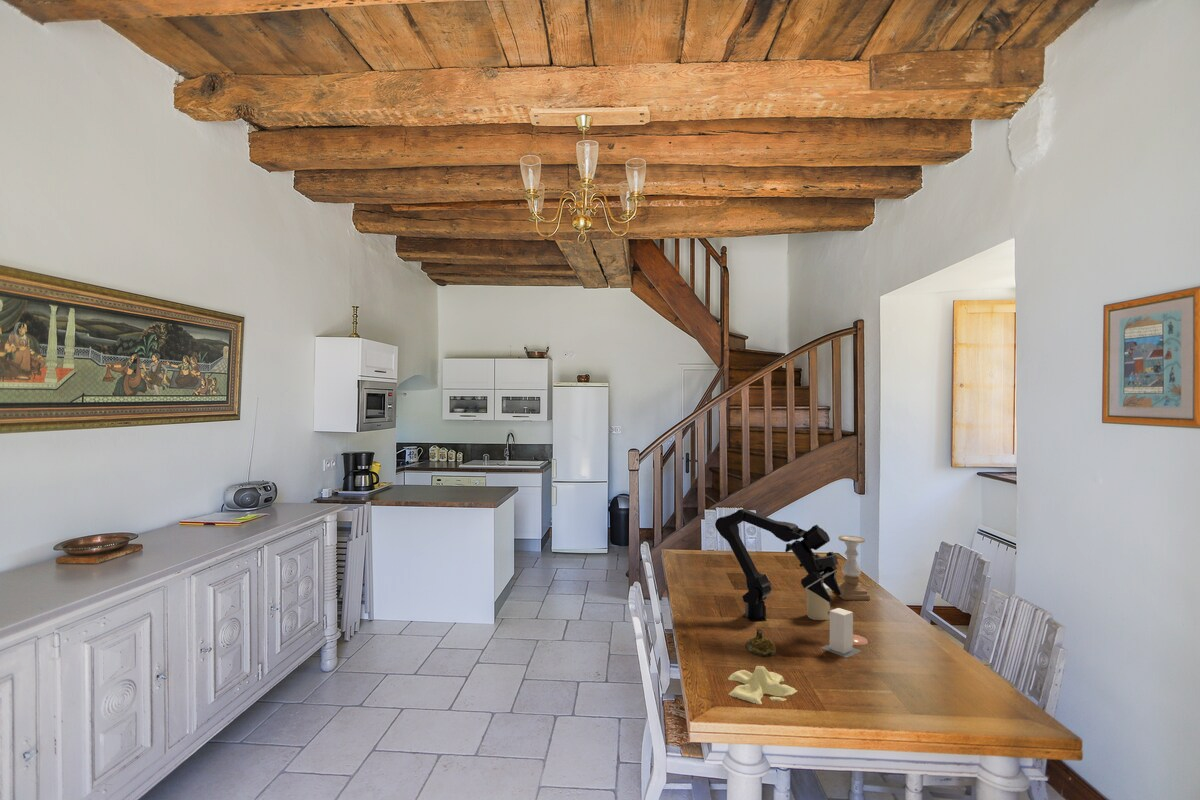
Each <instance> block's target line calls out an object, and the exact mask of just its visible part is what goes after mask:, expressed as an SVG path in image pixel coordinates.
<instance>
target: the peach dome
mask: <svg viewBox="0 0 1200 800" xmlns="http://www.w3.org/2000/svg"><path fill="white" fill-rule="evenodd" d="M868 643H869V640H868V639H867V638H866V637H864V636H862V635H859V634H854V633H853V646H866V645H868Z"/></svg>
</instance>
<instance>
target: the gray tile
mask: <svg viewBox="0 0 1200 800" xmlns="http://www.w3.org/2000/svg"><path fill="white" fill-rule="evenodd" d="M820 649H822V650H826V651H828V652H829V653H833V654H835V655H838V656H841V657H843V658H846V659H847V658H849V657H851V656H854V655H856V654H859V653H861V652H862V650H861V649H858V648H855V647H853V650H852V651H850V652H847V653H845V654H843V653H840V652H838V651H835V650H832V649H830V643H829V644H826V645H823V646H821V647H820Z"/></svg>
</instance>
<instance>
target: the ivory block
mask: <svg viewBox="0 0 1200 800" xmlns="http://www.w3.org/2000/svg"><path fill="white" fill-rule="evenodd" d="M853 634H854V612H853V611H850V610H846V609H843V608H840V607H837V608H833V609H830V618H829V644H830V649H832V650H835V651H838V652H840V653H843V654H845V653H847V652H850V651H852V650H853V648H854V645H853Z"/></svg>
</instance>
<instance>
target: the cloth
mask: <svg viewBox="0 0 1200 800" xmlns="http://www.w3.org/2000/svg"><path fill="white" fill-rule="evenodd" d="M754 668H755V669H754V670H753V672H750V671H748V670H747V669H746V670H745V669H741V670H737V671H735V672H733V673H732V674H730V676H728V678H727V680H728V681H736V682H739V683H742V684H739V685H737V686H735V687H734V689H732V690H731V691H730V692H729V693H728V696H729V695H730V696H729V697H733V698H736V697H737V698H736V699H739V700H743V701H746V702H750V703H752V704H755V703H756V705H762V704H763V702H762V701H761V700H762V698H763V697H764V694H765V695H771V696H770V697H769V699H770V700H771V701H774V702H775V701H777V702H784V701H786V700H788V699H787V698H783V697H786V696H791V695H794V694H795V693H797V692H798V690H797V689H796V688H794V687H792V686H790V685H787V684H784V683H783V684H780V683H782V682H785V678H784V677H783V675H781V674H779V673H777V672H773V671H768V669H767V668H766V667H765V666H763V665H756V666H755V667H754Z"/></svg>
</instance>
